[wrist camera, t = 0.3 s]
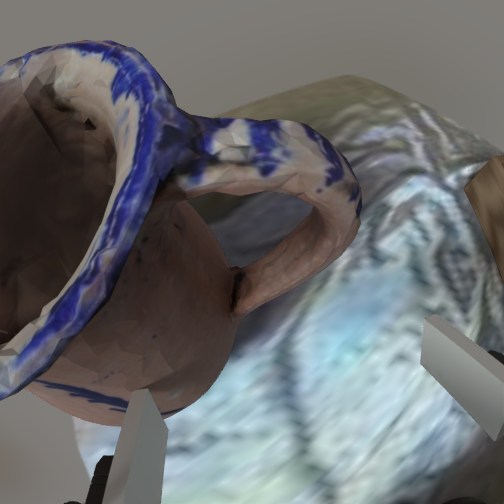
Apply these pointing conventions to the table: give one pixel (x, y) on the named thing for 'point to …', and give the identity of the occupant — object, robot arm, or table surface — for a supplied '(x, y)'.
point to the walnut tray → (490, 205)
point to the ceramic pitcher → (139, 230)
